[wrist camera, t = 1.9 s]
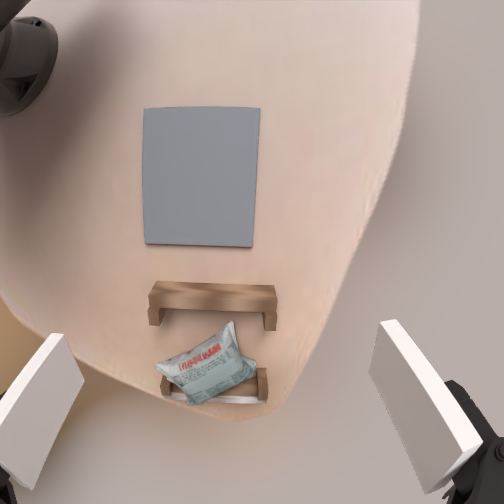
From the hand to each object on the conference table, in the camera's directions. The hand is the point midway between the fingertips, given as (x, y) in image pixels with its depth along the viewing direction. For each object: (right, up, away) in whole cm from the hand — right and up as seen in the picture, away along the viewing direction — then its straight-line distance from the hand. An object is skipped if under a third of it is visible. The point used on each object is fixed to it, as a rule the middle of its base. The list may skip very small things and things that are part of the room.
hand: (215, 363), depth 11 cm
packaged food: (-4, -7, +30) cm, 32 cm away
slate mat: (-5, +13, +22) cm, 26 cm away
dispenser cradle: (-4, -8, +29) cm, 31 cm away
